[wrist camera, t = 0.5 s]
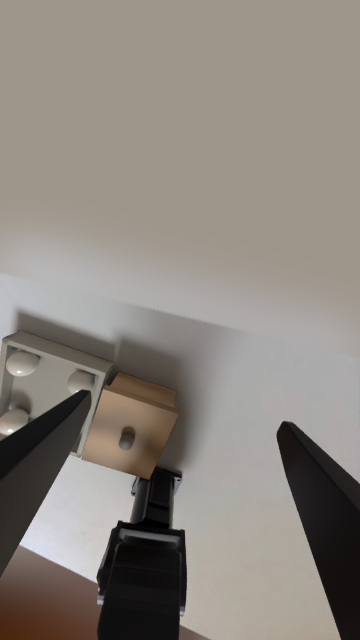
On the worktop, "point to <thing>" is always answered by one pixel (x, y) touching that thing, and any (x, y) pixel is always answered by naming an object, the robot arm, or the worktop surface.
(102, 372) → the tray
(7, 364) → the white glossy ball
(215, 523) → the worktop surface
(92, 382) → the shiny white sphere
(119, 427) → the lidded box
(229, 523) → the worktop surface
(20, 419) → the pebble
